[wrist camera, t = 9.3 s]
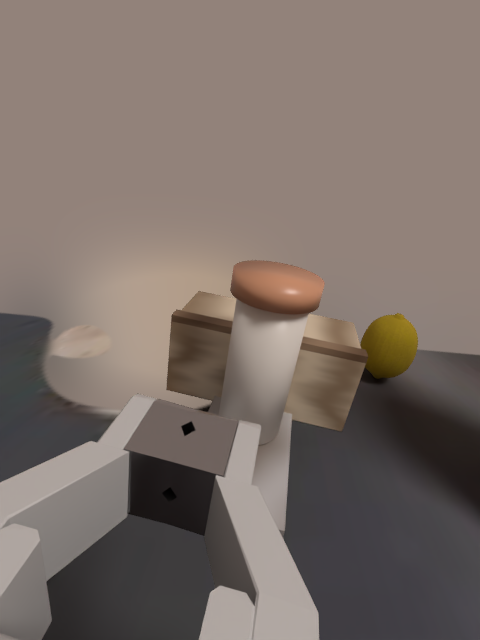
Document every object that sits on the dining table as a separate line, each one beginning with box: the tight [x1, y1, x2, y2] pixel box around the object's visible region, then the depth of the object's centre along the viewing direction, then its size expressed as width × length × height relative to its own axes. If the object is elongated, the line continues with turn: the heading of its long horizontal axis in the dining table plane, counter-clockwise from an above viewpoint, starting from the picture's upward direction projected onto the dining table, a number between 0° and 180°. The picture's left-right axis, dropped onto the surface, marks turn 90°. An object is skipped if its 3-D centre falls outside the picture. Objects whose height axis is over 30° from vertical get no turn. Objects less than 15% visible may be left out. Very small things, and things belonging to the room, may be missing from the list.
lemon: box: [360, 313, 418, 379], centre depth 37 cm, size 6×6×8 cm
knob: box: [219, 260, 324, 445], centre depth 25 cm, size 6×6×12 cm
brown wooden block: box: [167, 291, 368, 537], centre depth 28 cm, size 16×19×8 cm
